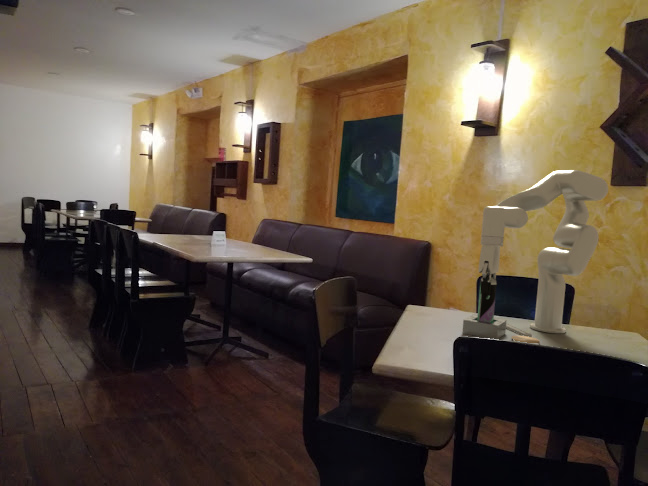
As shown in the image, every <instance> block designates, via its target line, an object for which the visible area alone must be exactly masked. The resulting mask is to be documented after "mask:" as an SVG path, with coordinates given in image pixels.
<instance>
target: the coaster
mask: <svg viewBox="0 0 648 486" xmlns="http://www.w3.org/2000/svg"><path fill="white" fill-rule="evenodd" d="M511 338H512V339H514V340H515V341H520V342H527V343H539V344H540V343H541V341H540V340H539V339H538V338H535V337H528V336H522V335H511Z"/></svg>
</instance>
